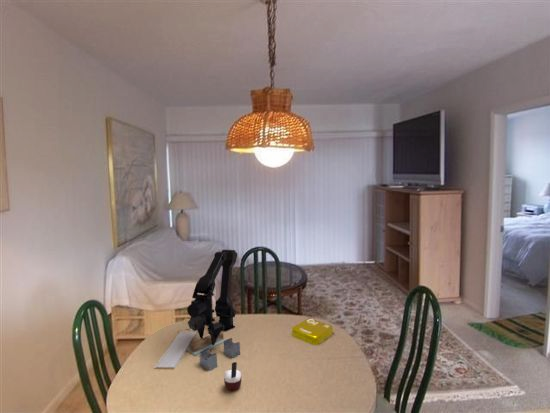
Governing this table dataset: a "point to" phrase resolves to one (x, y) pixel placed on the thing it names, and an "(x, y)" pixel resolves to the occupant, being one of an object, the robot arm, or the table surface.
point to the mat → (206, 347)
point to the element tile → (312, 331)
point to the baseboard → (175, 351)
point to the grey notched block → (208, 359)
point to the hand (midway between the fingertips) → (207, 341)
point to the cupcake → (232, 377)
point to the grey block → (231, 348)
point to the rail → (203, 342)
